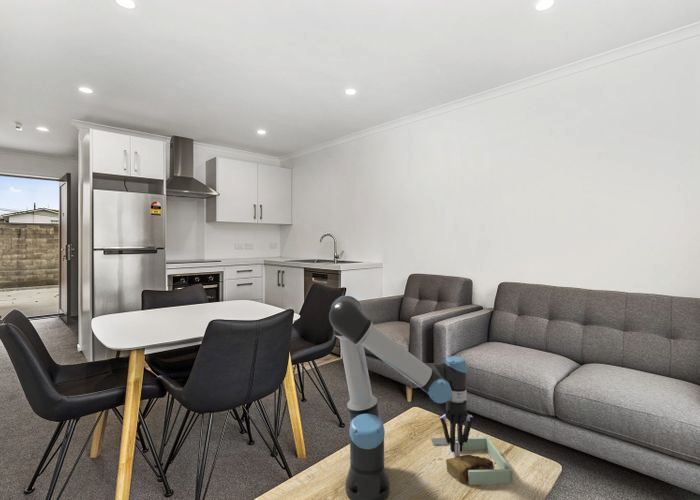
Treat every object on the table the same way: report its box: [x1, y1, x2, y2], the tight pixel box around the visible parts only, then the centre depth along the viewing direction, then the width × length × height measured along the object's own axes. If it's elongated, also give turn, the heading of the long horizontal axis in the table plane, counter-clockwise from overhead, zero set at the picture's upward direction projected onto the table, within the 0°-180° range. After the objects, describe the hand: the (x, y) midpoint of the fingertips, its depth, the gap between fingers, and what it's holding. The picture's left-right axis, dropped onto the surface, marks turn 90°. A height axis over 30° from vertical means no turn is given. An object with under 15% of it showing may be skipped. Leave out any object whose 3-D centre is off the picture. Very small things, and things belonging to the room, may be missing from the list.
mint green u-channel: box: [449, 436, 514, 486], centre depth 137 cm, size 16×22×4 cm
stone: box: [445, 454, 495, 484], centre depth 132 cm, size 15×9×5 cm, turn 102°
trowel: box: [430, 436, 457, 446], centre depth 152 cm, size 14×4×2 cm, turn 91°
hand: (456, 459), depth 137 cm, fingers closed
